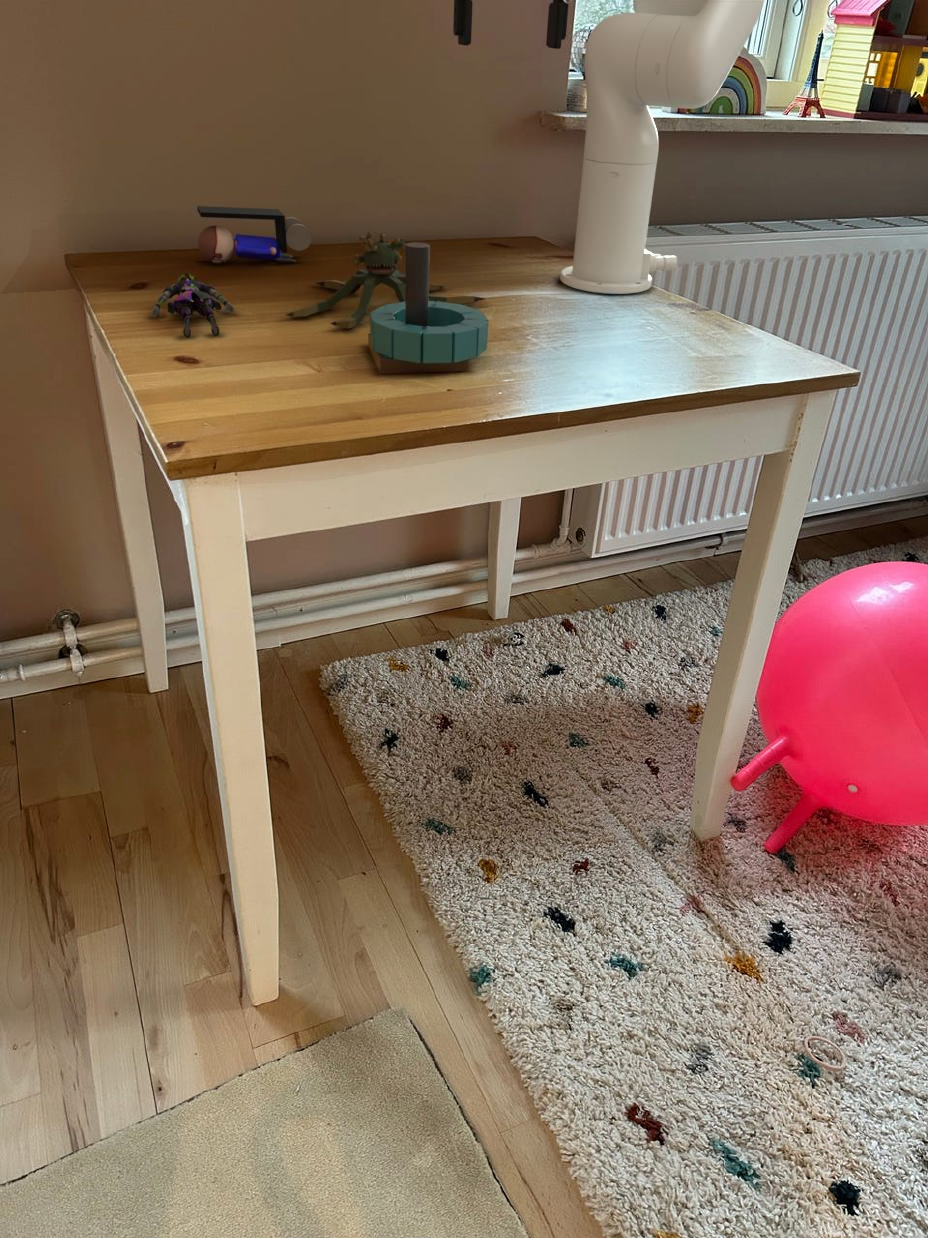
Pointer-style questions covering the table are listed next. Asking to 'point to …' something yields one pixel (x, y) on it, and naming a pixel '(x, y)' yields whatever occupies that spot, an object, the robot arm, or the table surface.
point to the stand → (415, 314)
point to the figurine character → (221, 244)
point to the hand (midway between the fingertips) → (509, 46)
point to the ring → (429, 333)
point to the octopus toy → (373, 281)
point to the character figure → (192, 302)
